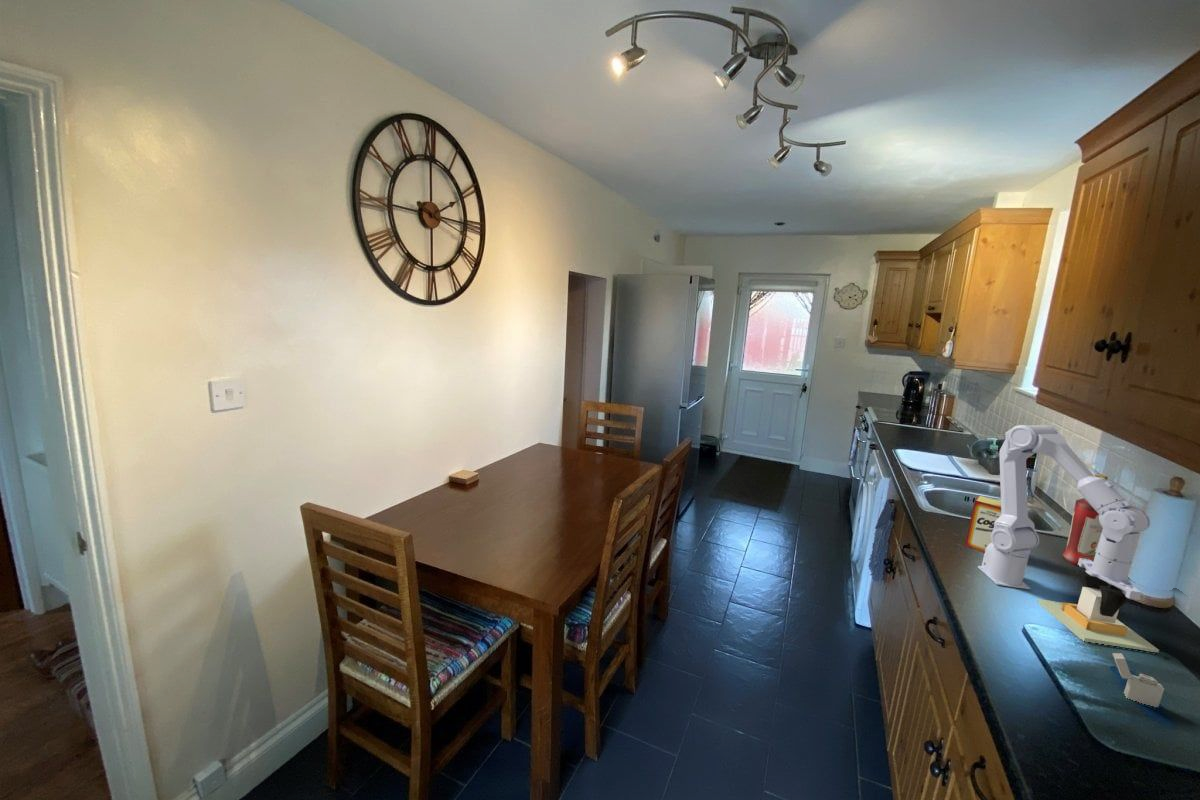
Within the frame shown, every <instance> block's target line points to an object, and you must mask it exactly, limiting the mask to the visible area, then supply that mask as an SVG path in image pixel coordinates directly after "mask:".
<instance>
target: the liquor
mask: <svg viewBox="0 0 1200 800" xmlns="http://www.w3.org/2000/svg"><path fill="white" fill-rule="evenodd" d="M1094 476H1096V477H1099V478H1104V479H1106V480H1107V481H1108V478H1109V476H1108V475H1107V476H1106V475H1104V474H1099V473H1098V474H1097V473H1095V474H1094ZM1099 515H1100V514H1098V512H1097V511H1096V510H1095V509H1094V508H1093V507H1092V506H1091V505H1090V504H1089V503H1088V502H1087V500H1086V499H1085V498H1079V499H1076V500H1075V504H1074V509H1073V513H1072V519H1071V523H1070V529H1069V534H1068V539H1067V543H1066V547H1065V551H1064V552H1062V556H1063V557H1064V558H1065V559H1066V561H1067V562H1068V561H1069V562H1068V563H1070V562H1071V563H1070V564H1072V563H1073V565H1075V564H1076V566H1078V562H1079V558H1083V559H1089V560H1091V561H1094V558H1095V554H1096V551H1097V547H1098V544H1099V540H1100V537H1101V534H1102V530H1103V527H1102V525H1101V524H1100V521H1099Z"/></svg>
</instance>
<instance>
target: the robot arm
mask: <svg viewBox="0 0 1200 800" xmlns="http://www.w3.org/2000/svg"><path fill="white" fill-rule="evenodd" d="M1004 434H1005V439H1004V441H1003V443H1002V445H1001V447H1000V449H999V456H998V457H999V481H1000V484H999V486H1000V501H1001V516H1000V517H999V518H998V519H997V520H996V521H995V522H994V529H993V531H992V533H991V541H992V543H990V544H989V545H988V546H987V547H986V549H985V553H984V554H983V559H982V561H981V562H982V563H981V565H978V566H977V568H978V569H979V570H980V571H981V572H982V573H983V574H984V575H986V576H987V577H988V578H989V579H990V580H991V581H992V582H994V583H995V585H998V586H1003V587H1009V588H1017V589H1024V590H1031V587H1030V586H1029V585H1027V584H1026V583H1025V582H1024V581H1023V580H1024V576H1025V573H1026V569H1027V565H1028V562H1029V557H1030V554H1031V552H1032V551H1031V550H1033V549H1036V548H1037V547H1038V545H1040V537H1039V535H1038V533H1037V531H1036V528H1035V523H1034V522H1033V520H1031V519H1030V518H1029V510H1028V509H1029V508H1028V507H1029V505H1028V483H1027V481H1028V480H1027V476H1028V475H1027V460H1028V458H1030V457H1032V456H1033V455H1035V454H1039V455H1040V454H1041V455H1044V456H1048V457H1051V458H1052V459H1053V461H1054V462H1056V463H1057V464H1058V465H1059V466H1060V467H1061V468H1062V469H1063V470H1064V471H1065V472H1066V473H1067V474H1068V475H1069V476H1070V477H1071V478H1072V479H1073V480H1075V482H1076V483H1077V488H1076V491H1078V493H1079V494H1080V495H1081V496H1082V497H1083V499H1086V500H1087V502H1088V503H1089V504H1090V505H1091V506H1092V507H1093V508H1094V509H1095V510H1096V511H1097V512H1098V514H1100V515H1099V521H1100V524H1101V525H1102V527H1103V530H1102V534H1101V537H1100V540H1099V543H1098V546H1097V548H1096V551H1095V554H1094V558H1093V561H1091V560H1089V559H1083V558H1079V562H1078V565H1079V567H1080V568H1084V569H1085V571H1078V576H1079V578H1080V580H1081V584H1082V588H1083V587H1088V588H1095V589H1100V590H1101V596H1102V601H1101V606H1100V614H1101V615H1103V616H1109V617H1113V616H1114V614H1115V613H1116V612H1117V611H1118V610H1120V609H1121V608H1122V606H1124V605H1125V604H1126V603H1127V604H1128V602H1130V601H1132V600H1136V601H1140V600H1141V596H1142V594H1143V592H1142V591H1140V590H1139V589H1137V588H1136V586H1135V585H1134V584H1133V583H1132V582H1131V581H1130V580H1129V579H1128V576H1129V574H1130V571H1131V567H1132V563H1133V560H1134V557H1135V553H1136V550H1137V548H1138V543H1139V541H1140V537H1141V533H1142V532H1144V531H1146V530H1147V529H1148V528H1149V527H1150V525H1151V520H1150V518H1149V515H1148V514H1147V513H1146V511H1145V510H1143V509H1142V508H1140V507H1137V506H1134V505H1133V503H1131V501H1130V500H1128V501H1127V500H1126V498H1125V497H1124V496H1123V495H1122V494H1121V493H1120V492H1118V490H1116V488H1115V487H1116V484H1114V482H1113V481H1111V480H1110V481H1108V479H1107V480H1106V479H1104V478H1099V477H1096V476H1095V474H1094V473H1092V471H1091V470H1090V469H1089V468H1088V467H1087V465H1086V464H1085V463H1084V462H1083V461H1082V459H1080V457H1079V456H1078V455H1077V454H1076V452H1074V450H1073V449H1072V448H1071V447H1070V445H1068V442H1067V441H1066V437H1064V436H1063V435H1062V434H1061V433H1059V431H1058V430H1057V429H1056V428H1055V427H1054V426H1051V425H1049V424H1036V425H1035V424H1032V425H1029V424H1028V425H1025V424H1018V425H1015V426H1013V427H1011V428H1010V429H1008V431H1006V432H1005V433H1004ZM1078 565H1077V566H1078ZM1108 585H1110V586H1108ZM1118 612H1119V611H1118Z"/></svg>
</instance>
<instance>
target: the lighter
mask: <svg viewBox="0 0 1200 800" xmlns="http://www.w3.org/2000/svg"><path fill="white" fill-rule="evenodd" d="M1111 654H1112V657H1113V658H1114V662H1115V665H1116V667H1117V670H1118V672H1119V674H1120V677H1122V679H1126V680H1127V681H1126V685H1125V687H1124V691H1123V694H1125V695H1124V696H1126V697H1125V699H1127V698H1128V700H1129V699H1131V700H1130V701H1132V700H1133V702H1135V701H1137V702H1136V703H1138V702H1139V704H1141V703H1142V704H1141V705H1144V704H1146V705H1145V706H1147V705H1150V706H1154V707H1158V708H1159V706H1160V703H1161V699H1162V697H1163V695H1164V691H1165V688H1164V686H1163V685H1162V684H1161V683H1159V682H1158V680H1157V679H1155V678H1154V677H1153V676H1149V675H1146V674H1143V673H1141V672H1140V673H1139V675H1138V676H1137V675H1134V674H1132V673H1131V671H1130V668H1129V666H1128V664H1127V663H1128V662H1127V661H1126V658H1125V657H1124V655H1123V652H1122V653H1121V652H1119V653H1118V652H1117V653H1116V652H1112V653H1111ZM1150 706H1149V707H1150Z"/></svg>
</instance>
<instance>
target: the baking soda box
mask: <svg viewBox="0 0 1200 800" xmlns="http://www.w3.org/2000/svg"><path fill="white" fill-rule="evenodd" d="M1000 516H1001V500H999V499H993V498H991V497H990V498H989V497H986V496H983V495H977V497H976V498H975V499H974V503H973V507H972V511H971V516H970V521H969V525H968V528H967V533H966V538H965V542H964V546H965V545H966V546H969V547H971V548H970V549H972V548H974V549H973V550H975V549H978V550H980V551H979V552H981V551H983V552H982V553H984V552H985V549H986V547H987V546H988V545H989V544H990V543H992V541H991V533H992V531H993V529H994V522H995V521H996V520H997V519H998V518H999V517H1000ZM966 546H965V547H966ZM969 547H968V548H969ZM978 550H977V551H978Z"/></svg>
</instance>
